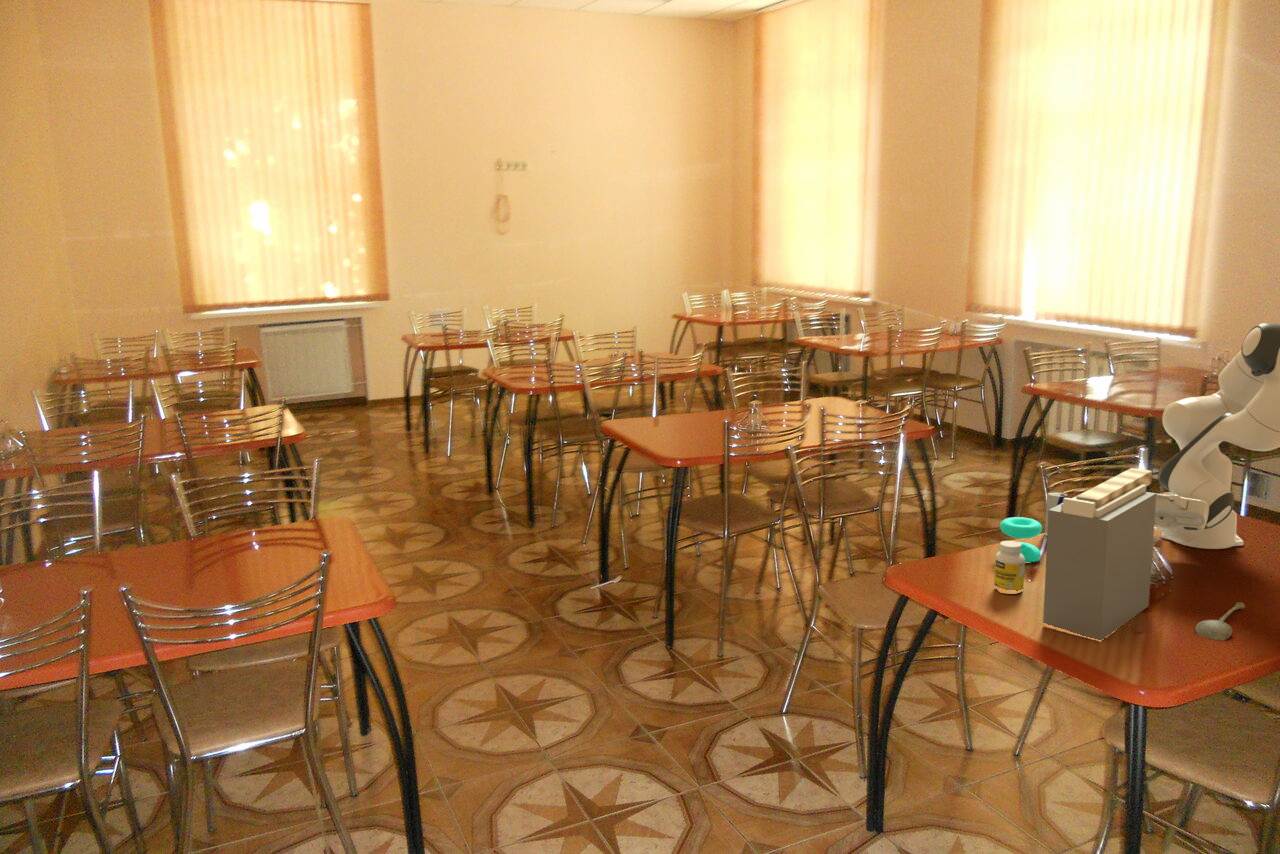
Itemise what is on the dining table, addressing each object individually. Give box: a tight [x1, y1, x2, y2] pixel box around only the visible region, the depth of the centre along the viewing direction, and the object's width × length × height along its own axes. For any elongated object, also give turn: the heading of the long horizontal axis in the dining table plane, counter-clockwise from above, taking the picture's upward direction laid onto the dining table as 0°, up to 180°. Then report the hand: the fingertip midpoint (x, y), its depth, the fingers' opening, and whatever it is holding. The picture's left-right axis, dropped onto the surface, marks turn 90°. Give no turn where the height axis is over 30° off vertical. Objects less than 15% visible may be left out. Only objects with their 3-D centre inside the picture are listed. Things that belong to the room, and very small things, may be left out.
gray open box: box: [1042, 484, 1157, 640], centre depth 209 cm, size 26×12×29 cm, turn 133°
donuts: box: [998, 516, 1043, 563], centre depth 248 cm, size 10×10×10 cm
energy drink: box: [1044, 491, 1069, 534], centre depth 264 cm, size 5×5×12 cm
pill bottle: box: [993, 540, 1026, 591], centre depth 227 cm, size 6×6×12 cm
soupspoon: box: [1194, 601, 1246, 641], centre depth 206 cm, size 22×3×7 cm
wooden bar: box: [1076, 467, 1153, 510], centre depth 209 cm, size 30×4×3 cm, turn 134°
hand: (1151, 494), depth 225 cm, fingers open, 8 cm apart
